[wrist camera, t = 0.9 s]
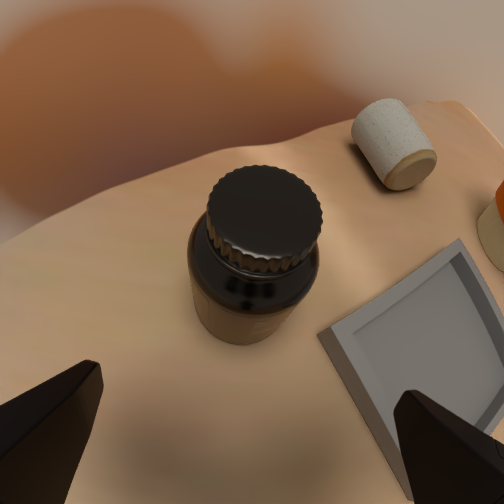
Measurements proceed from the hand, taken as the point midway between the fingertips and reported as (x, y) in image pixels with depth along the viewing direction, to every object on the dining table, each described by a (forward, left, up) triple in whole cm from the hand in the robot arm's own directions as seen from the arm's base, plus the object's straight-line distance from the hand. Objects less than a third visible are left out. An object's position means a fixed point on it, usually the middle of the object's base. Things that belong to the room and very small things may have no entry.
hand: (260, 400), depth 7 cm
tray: (-8, -17, -13) cm, 23 cm away
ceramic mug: (+13, -27, -14) cm, 33 cm away
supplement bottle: (+6, -4, -13) cm, 15 cm away
